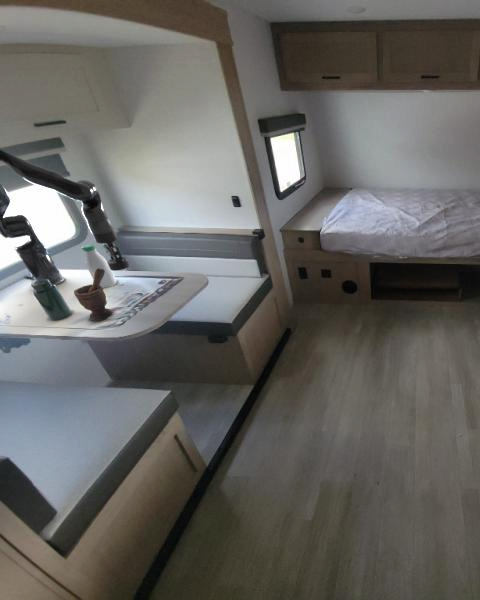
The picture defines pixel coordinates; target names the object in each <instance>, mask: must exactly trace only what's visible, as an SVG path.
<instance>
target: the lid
mask: <svg viewBox="0 0 480 600" xmlns="http://www.w3.org/2000/svg"><path fill="white" fill-rule="evenodd" d="M122 258H123V259H122V261H123V263H124V266H125V267H124V268H118V266H117V263H116V261H115V260H114V258H113V259H111V258H110V259H108V260H106V261H107V263H108V265H109V267H110V269H111V270H112V272H113V271H114V272H115V271H122V270H125V269H127V268H129V267H130V263H129V261H128V259H127V257H125V256H122Z"/></svg>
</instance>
